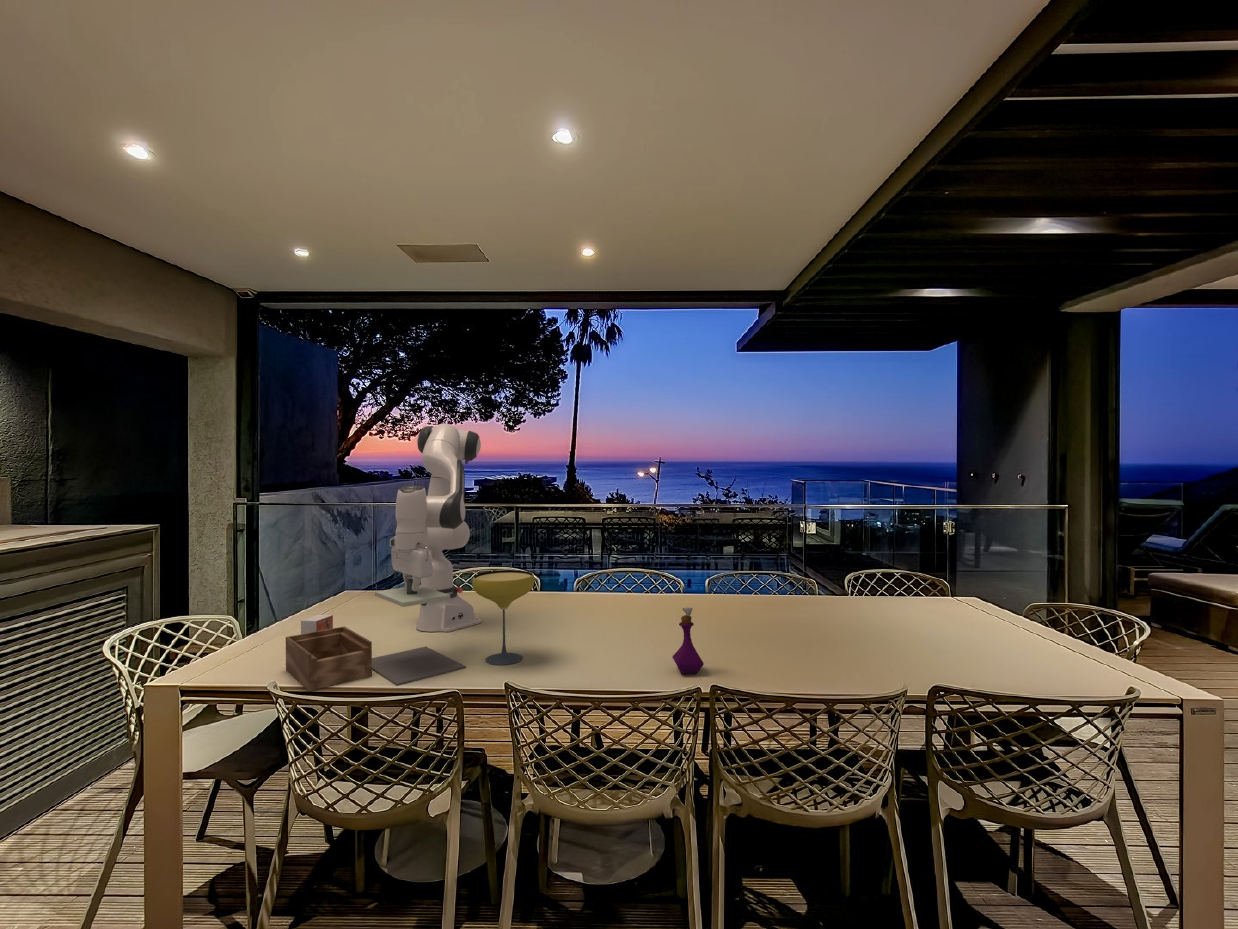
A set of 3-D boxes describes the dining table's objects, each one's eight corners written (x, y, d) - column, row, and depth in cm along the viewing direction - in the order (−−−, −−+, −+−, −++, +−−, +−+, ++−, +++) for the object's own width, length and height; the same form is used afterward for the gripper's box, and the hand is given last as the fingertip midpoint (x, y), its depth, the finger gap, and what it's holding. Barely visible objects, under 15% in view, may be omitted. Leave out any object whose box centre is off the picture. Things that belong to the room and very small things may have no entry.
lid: (419, 589, 186) (419, 572, 186) (450, 599, 171) (450, 581, 171) (374, 595, 177) (374, 578, 177) (403, 607, 162) (402, 587, 162)
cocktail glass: (485, 674, 166) (484, 583, 166) (464, 656, 181) (464, 573, 181) (544, 662, 176) (544, 576, 176) (520, 646, 191) (520, 568, 191)
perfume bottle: (672, 668, 170) (671, 604, 170) (698, 667, 170) (697, 603, 170) (676, 677, 162) (676, 610, 162) (704, 676, 163) (703, 609, 163)
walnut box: (344, 657, 181) (344, 626, 181) (371, 676, 165) (371, 641, 165) (285, 670, 171) (285, 637, 171) (308, 691, 154) (308, 654, 154)
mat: (425, 647, 190) (425, 646, 190) (465, 667, 171) (465, 666, 171) (361, 662, 177) (361, 660, 177) (396, 685, 158) (396, 683, 158)
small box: (316, 655, 184) (316, 621, 184) (300, 654, 185) (300, 620, 185) (333, 647, 192) (333, 614, 192) (318, 646, 193) (318, 614, 193)
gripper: (438, 544, 169) (438, 593, 168) (407, 538, 184) (408, 583, 184) (416, 546, 164) (416, 596, 164) (387, 539, 179) (387, 586, 179)
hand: (412, 589), depth 174 cm, fingers closed on lid, 3 cm apart
